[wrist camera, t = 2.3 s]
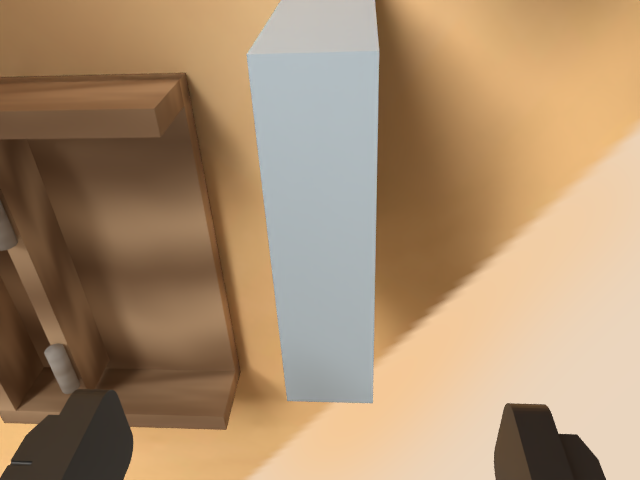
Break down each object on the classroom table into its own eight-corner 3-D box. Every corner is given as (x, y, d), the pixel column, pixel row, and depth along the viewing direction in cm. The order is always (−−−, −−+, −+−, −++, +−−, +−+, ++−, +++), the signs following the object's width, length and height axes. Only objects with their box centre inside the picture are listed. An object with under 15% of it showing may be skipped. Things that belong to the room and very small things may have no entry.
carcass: (-100, 79, 26) (-188, 119, 22) (185, 72, 25) (150, 113, 21) (40, 367, 37) (-1, 429, 33) (240, 372, 36) (224, 436, 32)
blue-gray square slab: (299, -29, 22) (246, 54, 12) (372, -31, 22) (379, 50, 12) (313, 219, 29) (287, 400, 19) (369, 219, 29) (372, 403, 19)
